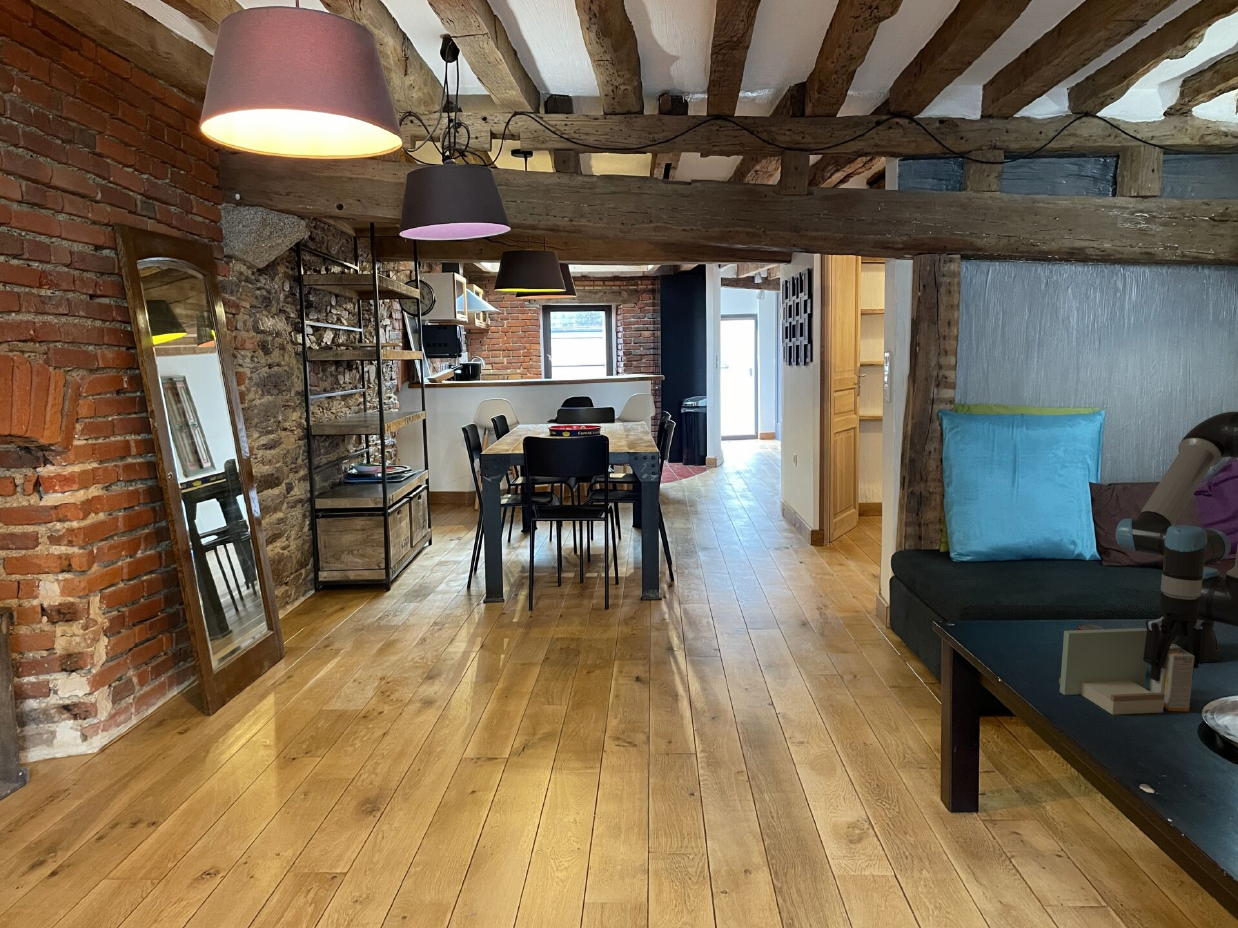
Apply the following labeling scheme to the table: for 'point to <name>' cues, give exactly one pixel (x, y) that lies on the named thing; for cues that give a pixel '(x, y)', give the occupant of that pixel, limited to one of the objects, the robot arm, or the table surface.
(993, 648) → the table surface
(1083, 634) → the wall board
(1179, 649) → the supplement box
